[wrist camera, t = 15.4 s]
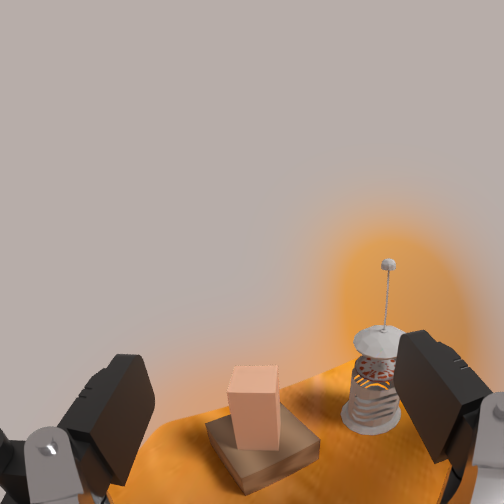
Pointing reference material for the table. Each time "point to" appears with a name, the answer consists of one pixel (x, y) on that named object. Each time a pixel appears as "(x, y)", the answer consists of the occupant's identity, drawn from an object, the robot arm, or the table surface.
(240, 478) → the walnut block
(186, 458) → the table surface
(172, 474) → the table surface
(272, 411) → the terracotta block
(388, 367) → the french press
